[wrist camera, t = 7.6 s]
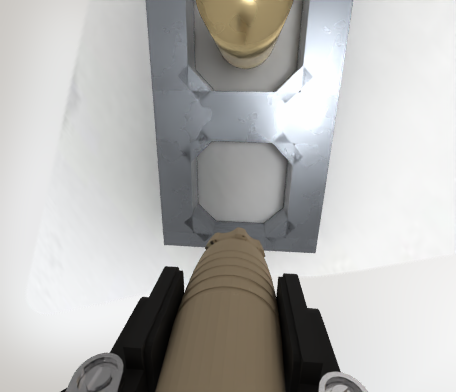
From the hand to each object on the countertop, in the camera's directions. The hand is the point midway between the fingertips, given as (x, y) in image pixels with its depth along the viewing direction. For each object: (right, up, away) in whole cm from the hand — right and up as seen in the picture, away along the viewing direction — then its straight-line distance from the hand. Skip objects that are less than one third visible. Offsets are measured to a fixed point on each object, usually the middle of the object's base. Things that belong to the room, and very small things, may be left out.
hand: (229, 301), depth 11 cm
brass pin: (+1, +18, +11) cm, 21 cm away
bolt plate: (+1, +12, +13) cm, 18 cm away
